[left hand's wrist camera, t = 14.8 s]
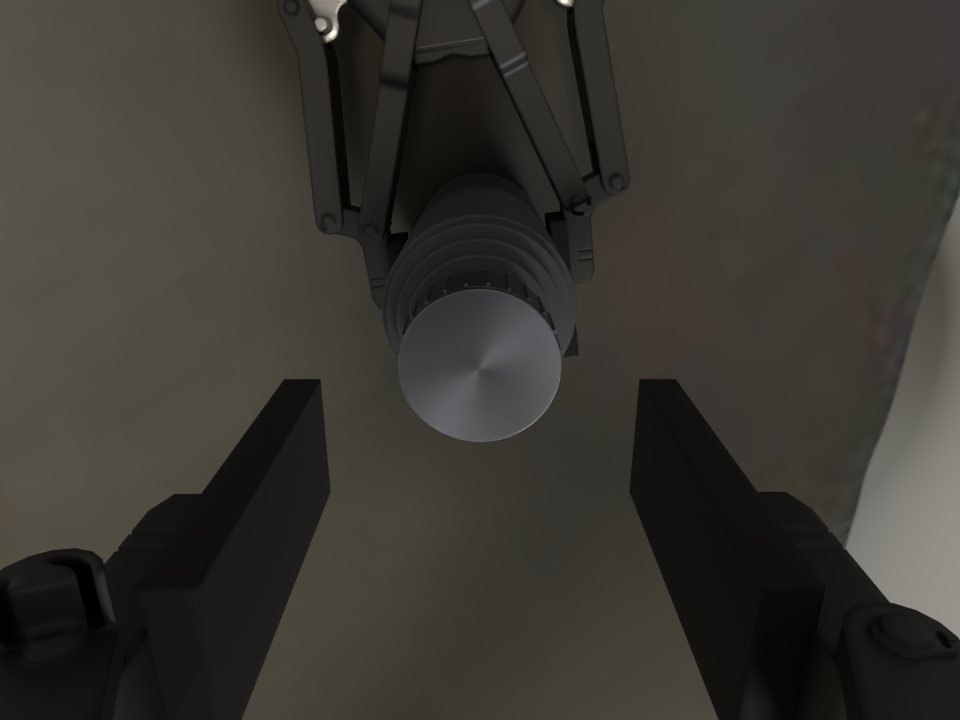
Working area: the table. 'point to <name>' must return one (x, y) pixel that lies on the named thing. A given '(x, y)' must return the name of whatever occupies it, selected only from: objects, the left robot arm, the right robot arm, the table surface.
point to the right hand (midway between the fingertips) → (492, 355)
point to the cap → (479, 356)
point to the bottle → (479, 251)
